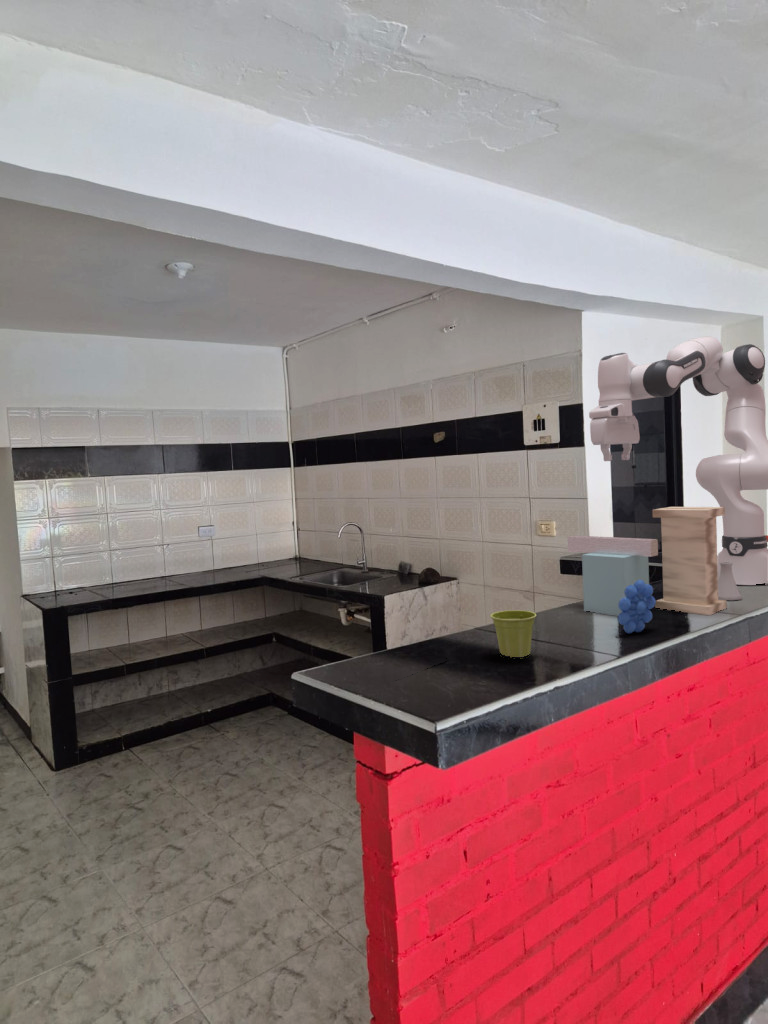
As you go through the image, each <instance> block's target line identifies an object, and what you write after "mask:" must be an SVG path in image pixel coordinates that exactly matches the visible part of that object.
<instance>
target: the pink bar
mask: <svg viewBox="0 0 768 1024" xmlns="http://www.w3.org/2000/svg"><path fill="white" fill-rule="evenodd" d="M658 543H659V541H658V538H657V539H656V538H641V537H640V538H639V537H637V538H636V537H634V538H633V537H616V536H615V537H613V536H595V535H594V536H590V535H571V536H567V550H568V551H567V552H570V553H571V552H573V553H584V554H588V553H600V554H616V555H631V556H646V557H648V558H651V557H656V556H658V555H659V544H658Z"/></svg>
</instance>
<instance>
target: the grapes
mask: <svg viewBox="0 0 768 1024" xmlns="http://www.w3.org/2000/svg"><path fill="white" fill-rule="evenodd" d="M624 593H625V596H626V597H624V598H622V599H621V600H620V601H619V603H618V606H619V609H620V610H621V611H623V612H621V613H620V614H619V616H617V621H618V623H619V624H620V625H622V626H623V630H624V632H625V633H626V634H632V633H633V632H635V633H641V632H643V630H644V629H645V627H646V624H648V623H649V622H650V621H651V620H652V619H653V612H652V610H651V609H654V607H655V604H656V601H657V600H656V598H655V597H654V596H653V593H654V588H653V586H652V585H651V584H650V583H649V584H645V582H644V581H643V580H638V581H636V582H635V583H634V585H629V586H627V587H626V589H625V591H624ZM645 623H646V624H645Z"/></svg>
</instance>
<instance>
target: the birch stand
mask: <svg viewBox="0 0 768 1024" xmlns="http://www.w3.org/2000/svg"><path fill="white" fill-rule="evenodd" d="M722 515H725V507H720V506H668V507H660V508H656V509H654V508H653V509H652V518H660V523H661V524H660V525H661V526H660V528H661V556H662V558H661V559H662V560H661V563H662V594H663V595H662V597H663V598H660V599H657V600H655V601H656V604H655V606H654V607H655V608H660V609H659V610H663V609H667V610H666V611H671V610H675V611H674V612H679V611H681V612H680V613H687V614H688V613H689V614H696V615H705V616H712V615H714V614H716V612H717V613H718V611H719V612H721V611H720V610H722V611H724V610H726V608H727V609H728V603H727V602H728V600H719V599H718V572H717V563H718V535H717V534H718V532H717V518H718V517H721V516H722ZM723 609H724V610H723Z"/></svg>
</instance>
